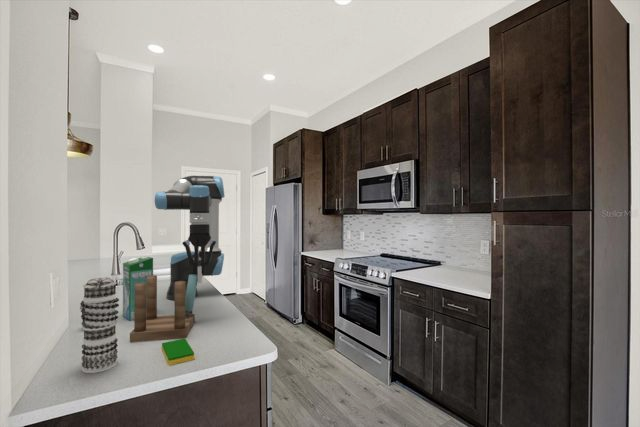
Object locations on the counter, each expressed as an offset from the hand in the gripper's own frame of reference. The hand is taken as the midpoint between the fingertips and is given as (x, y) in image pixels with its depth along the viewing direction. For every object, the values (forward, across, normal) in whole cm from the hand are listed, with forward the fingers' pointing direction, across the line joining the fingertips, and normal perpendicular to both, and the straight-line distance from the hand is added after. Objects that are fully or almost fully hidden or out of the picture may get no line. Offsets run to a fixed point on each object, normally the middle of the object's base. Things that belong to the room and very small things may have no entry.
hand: (200, 282), depth 128 cm
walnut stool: (+16, -12, -6) cm, 21 cm away
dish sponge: (+17, -3, -28) cm, 33 cm away
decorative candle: (+17, -23, -32) cm, 43 cm away
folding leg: (+11, -5, 0) cm, 12 cm away
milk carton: (+16, -28, +15) cm, 35 cm away
